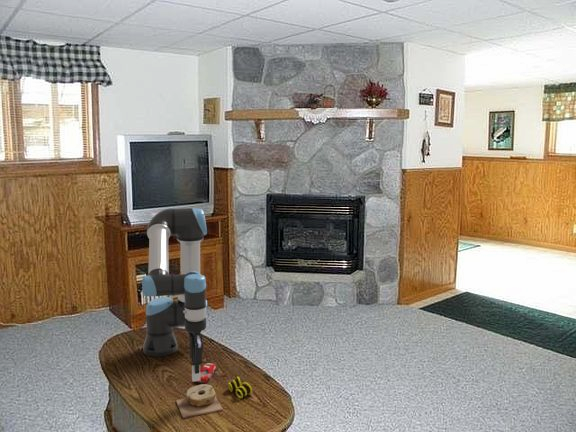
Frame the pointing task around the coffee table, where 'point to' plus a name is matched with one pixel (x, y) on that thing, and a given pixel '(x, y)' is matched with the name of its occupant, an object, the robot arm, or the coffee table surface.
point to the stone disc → (200, 395)
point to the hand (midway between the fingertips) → (196, 380)
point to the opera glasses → (240, 388)
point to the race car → (207, 372)
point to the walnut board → (197, 408)
